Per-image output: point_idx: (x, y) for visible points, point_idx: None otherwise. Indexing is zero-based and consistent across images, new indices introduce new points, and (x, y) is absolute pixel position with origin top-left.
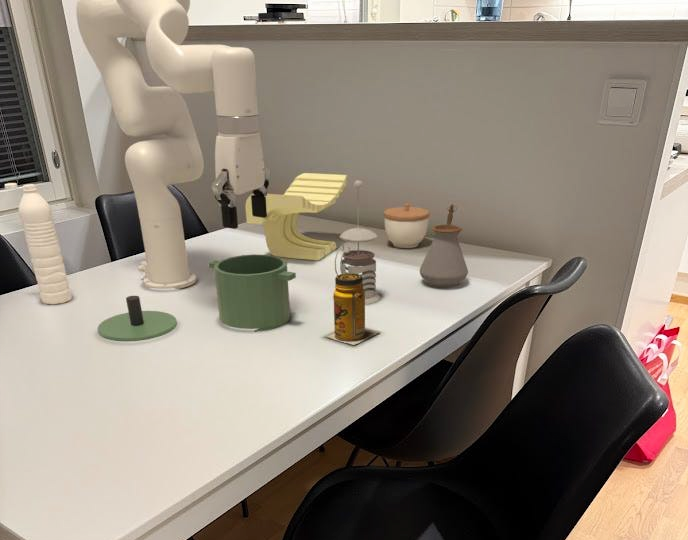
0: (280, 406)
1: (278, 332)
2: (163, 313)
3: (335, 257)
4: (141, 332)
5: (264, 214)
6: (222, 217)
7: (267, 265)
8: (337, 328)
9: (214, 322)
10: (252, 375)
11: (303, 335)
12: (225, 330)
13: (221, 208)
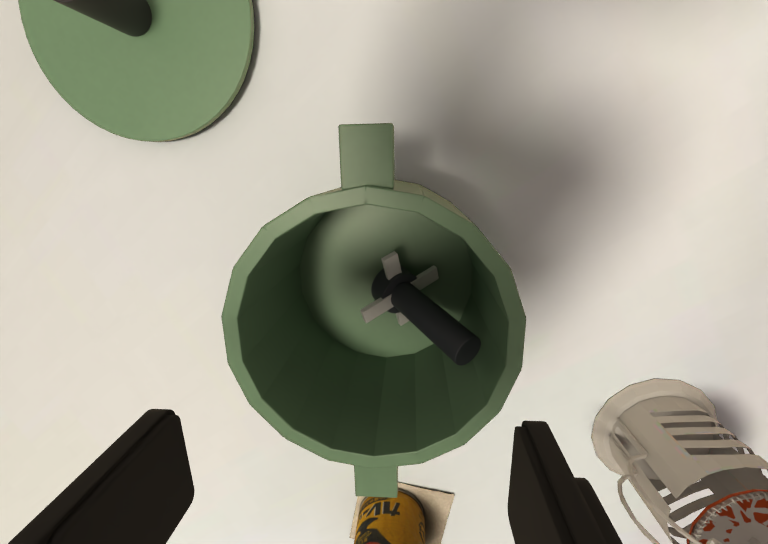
0: None
1: None
2: (240, 21)
3: (658, 513)
4: (99, 86)
5: (513, 533)
6: (105, 455)
7: (498, 318)
8: (358, 523)
9: (307, 192)
10: None
11: None
12: None
13: (41, 515)
